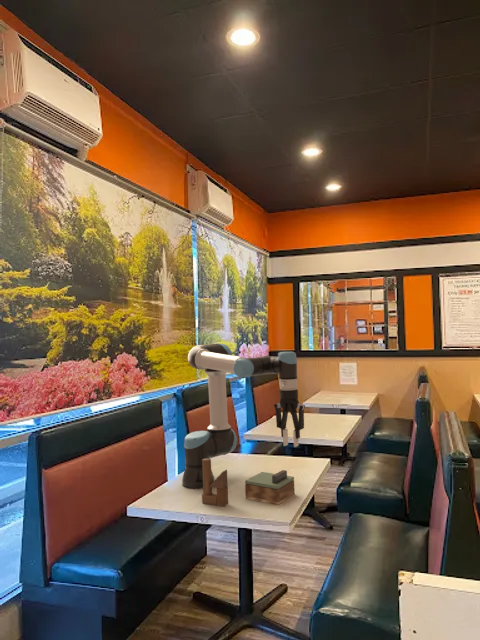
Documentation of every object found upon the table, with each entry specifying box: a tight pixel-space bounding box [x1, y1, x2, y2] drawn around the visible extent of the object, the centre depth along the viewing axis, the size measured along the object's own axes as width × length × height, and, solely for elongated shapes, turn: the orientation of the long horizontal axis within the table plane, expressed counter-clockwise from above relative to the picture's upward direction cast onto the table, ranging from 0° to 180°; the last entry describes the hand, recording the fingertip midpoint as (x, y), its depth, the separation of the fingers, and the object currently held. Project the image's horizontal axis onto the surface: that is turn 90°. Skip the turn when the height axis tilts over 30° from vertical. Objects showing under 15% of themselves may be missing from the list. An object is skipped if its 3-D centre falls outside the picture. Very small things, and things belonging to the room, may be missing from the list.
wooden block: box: [201, 458, 229, 507], centre depth 204 cm, size 4×11×18 cm, turn 62°
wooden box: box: [244, 479, 295, 506], centre depth 210 cm, size 16×14×6 cm
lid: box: [244, 469, 295, 489], centre depth 210 cm, size 16×14×4 cm
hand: (291, 445), depth 204 cm, fingers open, 4 cm apart
